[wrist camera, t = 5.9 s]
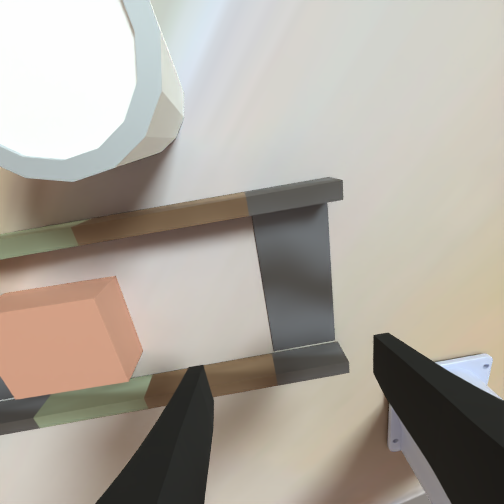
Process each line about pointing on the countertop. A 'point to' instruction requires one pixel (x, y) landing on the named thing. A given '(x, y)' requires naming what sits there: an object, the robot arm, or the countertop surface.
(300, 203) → the channel
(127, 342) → the brick block
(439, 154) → the countertop surface
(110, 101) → the shot glass
